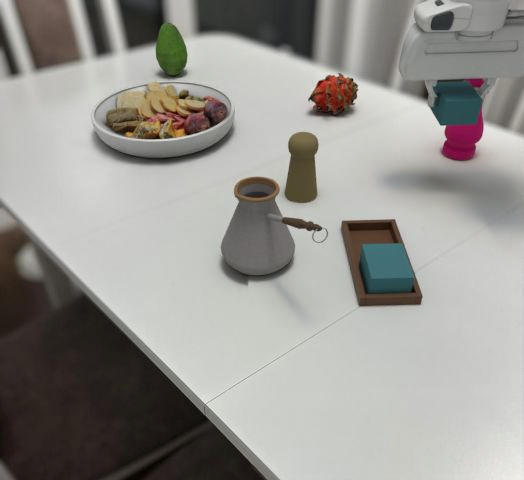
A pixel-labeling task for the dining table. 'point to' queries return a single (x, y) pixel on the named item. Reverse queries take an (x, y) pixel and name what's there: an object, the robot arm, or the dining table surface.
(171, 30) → the avocado
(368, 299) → the brown wooden tray
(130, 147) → the bowl
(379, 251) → the teal block
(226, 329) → the dining table surface
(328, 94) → the dragon fruit
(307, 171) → the olive peg doll
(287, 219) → the coffee pot
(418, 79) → the robot arm
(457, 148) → the pepper mill
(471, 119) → the loose pad
